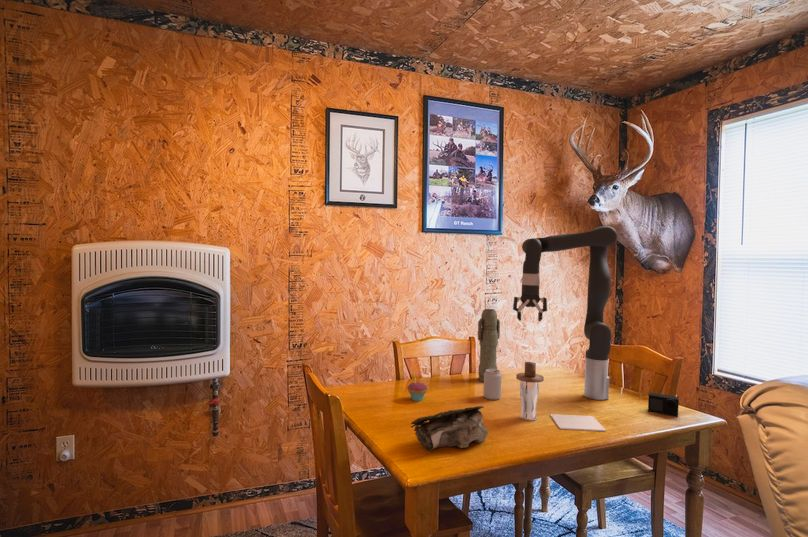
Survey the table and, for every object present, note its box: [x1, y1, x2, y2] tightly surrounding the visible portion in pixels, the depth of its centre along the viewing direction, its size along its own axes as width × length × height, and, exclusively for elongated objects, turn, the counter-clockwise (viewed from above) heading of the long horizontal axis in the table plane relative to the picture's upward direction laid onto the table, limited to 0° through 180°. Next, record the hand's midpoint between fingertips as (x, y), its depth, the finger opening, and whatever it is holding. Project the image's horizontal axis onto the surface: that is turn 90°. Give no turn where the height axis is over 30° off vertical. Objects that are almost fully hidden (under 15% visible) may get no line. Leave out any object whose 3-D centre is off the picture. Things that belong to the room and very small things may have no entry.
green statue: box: [477, 308, 501, 383], centre depth 223 cm, size 9×12×35 cm
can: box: [482, 368, 503, 401], centre depth 196 cm, size 8×8×12 cm
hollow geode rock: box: [409, 405, 489, 452], centre depth 145 cm, size 28×13×15 cm
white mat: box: [550, 413, 607, 432], centre depth 168 cm, size 16×14×1 cm
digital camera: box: [647, 392, 680, 418], centre depth 181 cm, size 10×5×7 cm, turn 57°
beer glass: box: [519, 381, 540, 422], centre depth 172 cm, size 7×7×15 cm
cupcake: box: [406, 370, 428, 402], centre depth 191 cm, size 9×8×12 cm
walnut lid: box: [515, 361, 545, 383], centre depth 172 cm, size 10×10×6 cm
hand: (529, 320), depth 200 cm, fingers open, 8 cm apart
